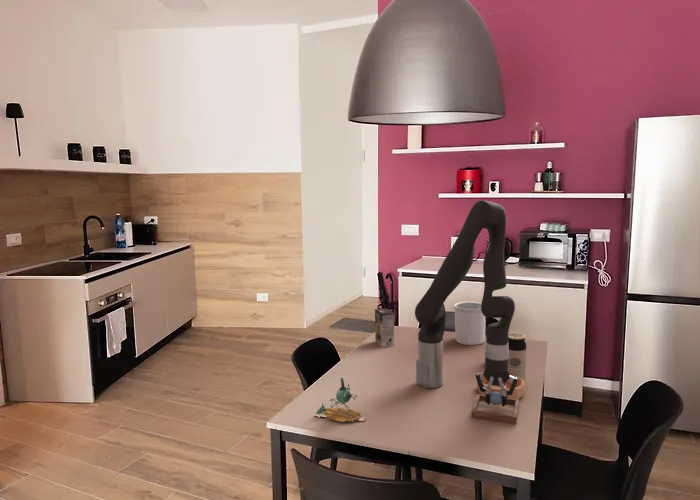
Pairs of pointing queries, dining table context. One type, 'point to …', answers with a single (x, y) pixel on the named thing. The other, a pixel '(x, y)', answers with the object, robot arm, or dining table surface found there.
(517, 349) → the travel mug
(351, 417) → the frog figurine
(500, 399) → the ball
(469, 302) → the utensil holder
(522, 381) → the bowl
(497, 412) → the tray
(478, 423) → the dining table surface
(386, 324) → the coffee box
